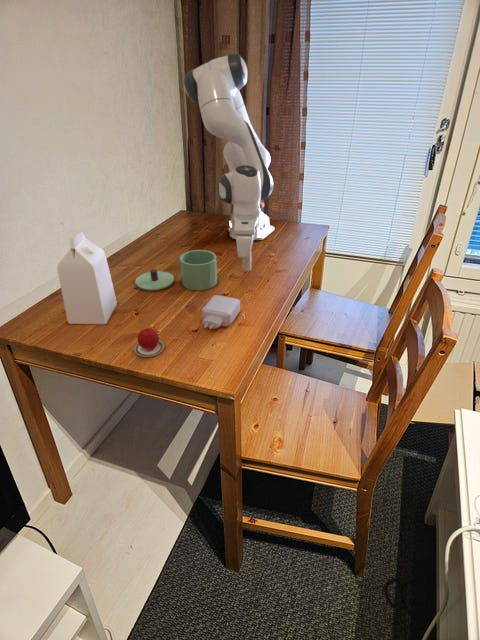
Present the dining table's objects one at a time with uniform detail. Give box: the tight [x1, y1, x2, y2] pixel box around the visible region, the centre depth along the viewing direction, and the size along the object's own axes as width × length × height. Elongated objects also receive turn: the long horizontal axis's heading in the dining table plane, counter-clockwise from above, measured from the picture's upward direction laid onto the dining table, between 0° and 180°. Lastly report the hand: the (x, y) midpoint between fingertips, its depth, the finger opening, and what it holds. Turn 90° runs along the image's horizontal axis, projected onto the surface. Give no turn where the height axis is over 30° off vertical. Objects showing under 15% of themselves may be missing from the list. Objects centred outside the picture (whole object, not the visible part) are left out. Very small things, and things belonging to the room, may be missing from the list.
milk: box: [56, 230, 118, 325], centre depth 122 cm, size 12×12×26 cm
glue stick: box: [242, 247, 253, 272], centre depth 139 cm, size 3×3×8 cm
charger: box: [201, 294, 241, 330], centre depth 123 cm, size 5×9×15 cm
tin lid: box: [134, 268, 175, 291], centre depth 145 cm, size 14×14×5 cm
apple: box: [133, 327, 165, 358], centre depth 111 cm, size 8×8×6 cm
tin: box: [179, 249, 218, 291], centre depth 144 cm, size 13×13×10 cm
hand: (246, 259), depth 140 cm, fingers closed on glue stick, 3 cm apart
